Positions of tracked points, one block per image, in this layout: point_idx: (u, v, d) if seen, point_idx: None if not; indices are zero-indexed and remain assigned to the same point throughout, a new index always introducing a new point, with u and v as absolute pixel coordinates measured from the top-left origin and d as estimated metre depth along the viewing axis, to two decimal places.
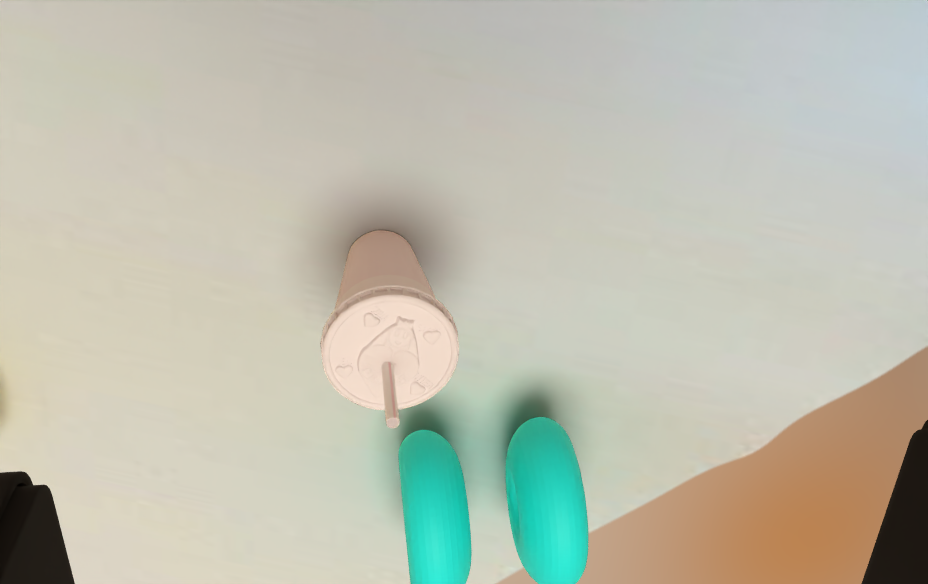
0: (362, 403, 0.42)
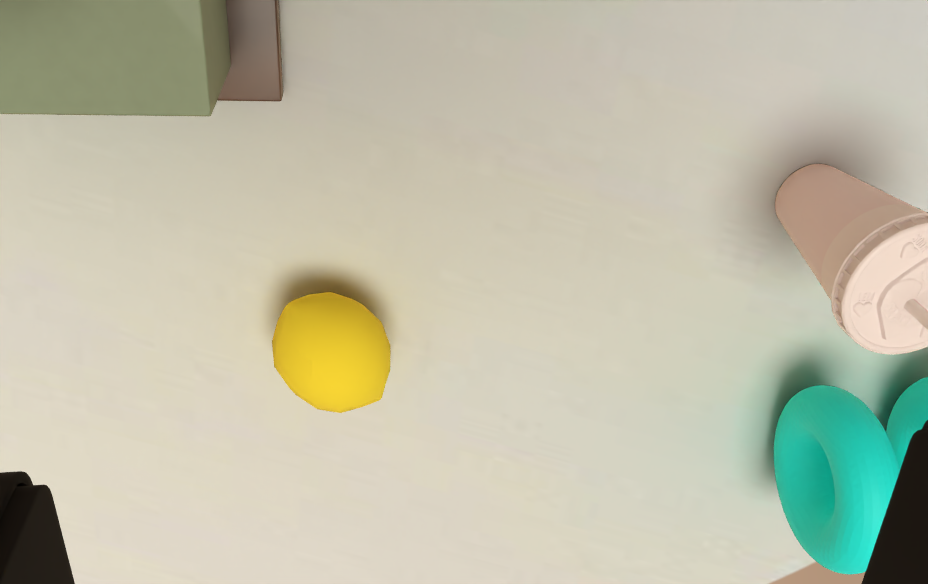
0: (867, 345, 0.38)
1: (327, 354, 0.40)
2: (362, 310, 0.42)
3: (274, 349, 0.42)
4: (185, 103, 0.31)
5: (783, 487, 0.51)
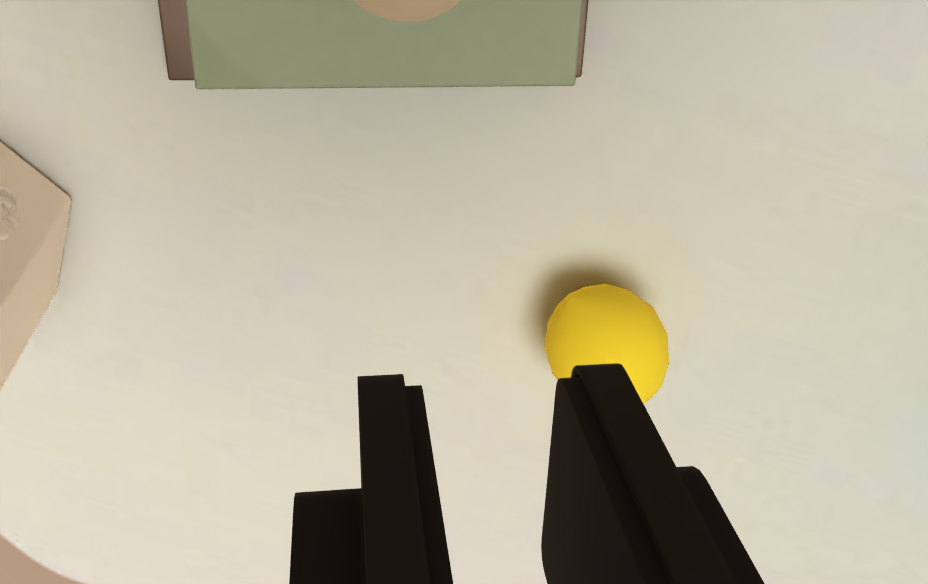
0: None
1: (621, 349, 0.37)
2: (643, 302, 0.39)
3: (552, 346, 0.39)
4: (551, 71, 0.28)
5: None
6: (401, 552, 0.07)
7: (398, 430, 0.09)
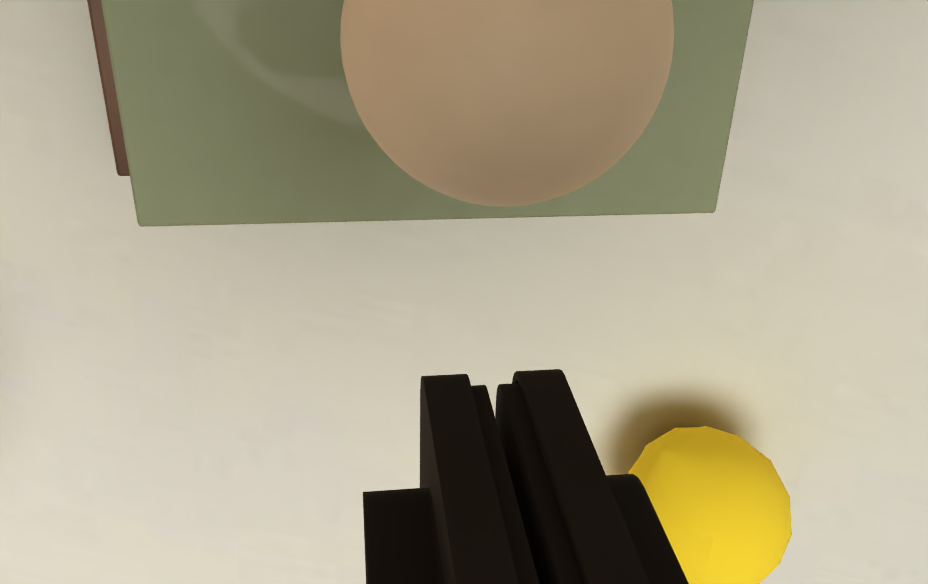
0: None
1: (734, 527, 0.28)
2: (758, 453, 0.29)
3: None
4: (681, 193, 0.19)
5: None
6: (486, 551, 0.07)
7: (470, 430, 0.09)
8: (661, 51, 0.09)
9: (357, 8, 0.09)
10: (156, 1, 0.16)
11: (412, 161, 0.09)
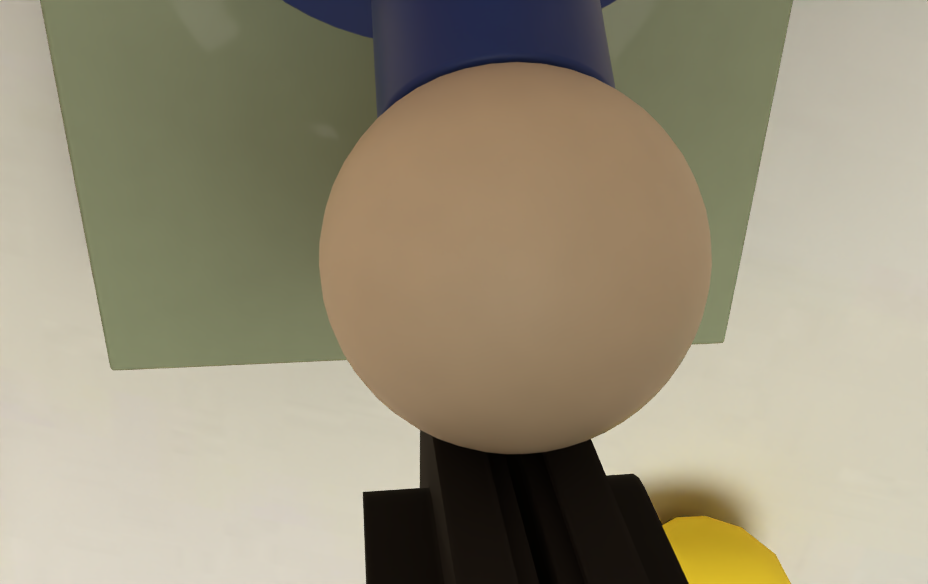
0: None
1: None
2: (762, 547, 0.28)
3: None
4: None
5: None
6: (486, 552, 0.07)
7: None
8: (699, 294, 0.07)
9: (338, 244, 0.07)
10: (128, 147, 0.14)
11: (404, 414, 0.08)
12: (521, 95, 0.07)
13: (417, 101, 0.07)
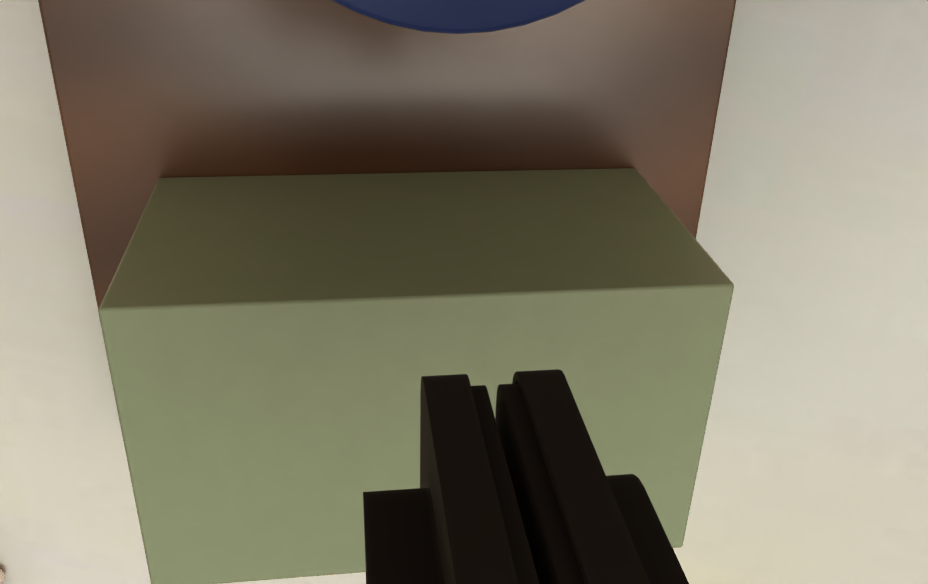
0: None
1: None
2: None
3: None
4: None
5: None
6: (486, 551, 0.07)
7: (469, 430, 0.09)
8: None
9: None
10: (171, 425, 0.17)
11: None
12: None
13: None
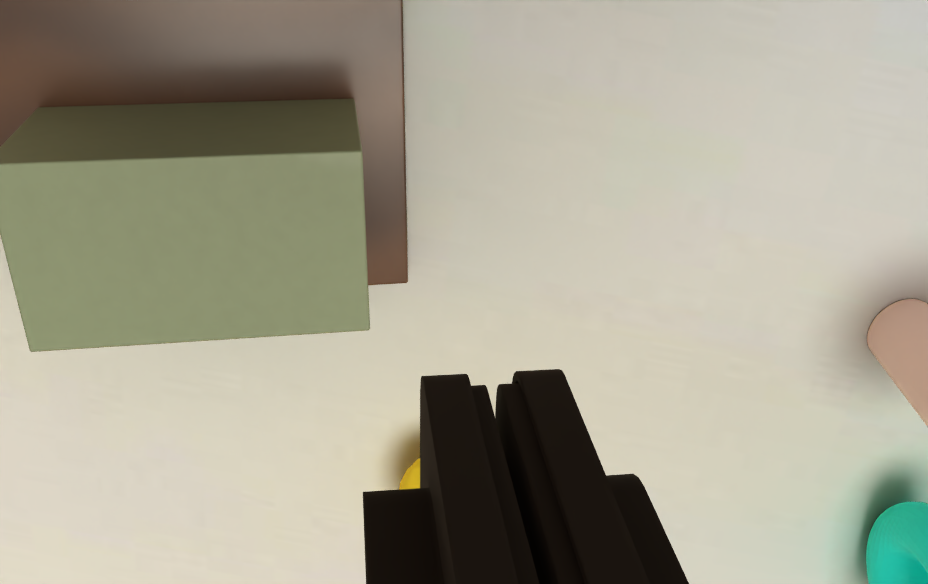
0: None
1: None
2: None
3: None
4: (346, 320, 0.33)
5: None
6: (486, 551, 0.07)
7: (469, 430, 0.09)
8: None
9: None
10: (31, 239, 0.29)
11: None
12: None
13: None
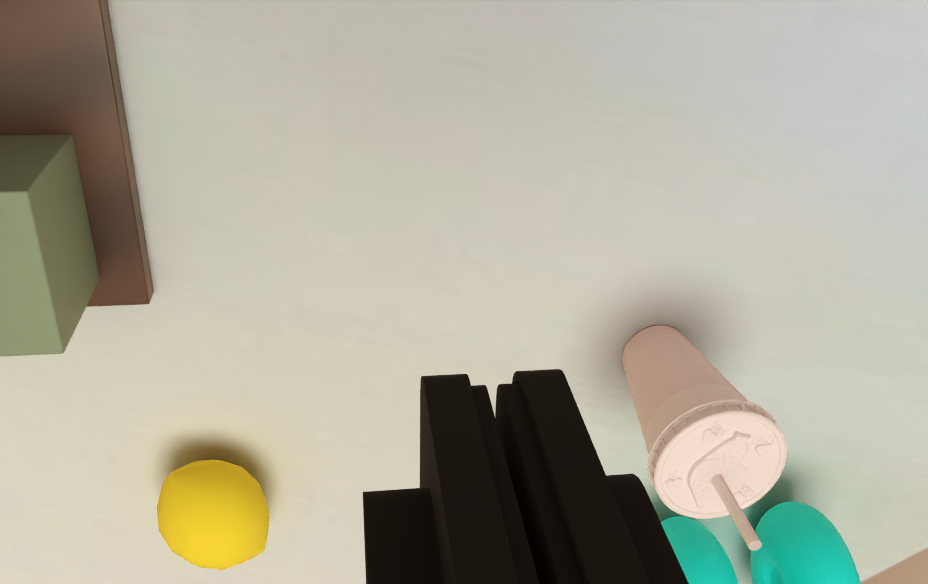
0: (684, 512, 0.42)
1: (202, 524, 0.44)
2: (238, 477, 0.46)
3: (158, 516, 0.46)
4: (39, 344, 0.35)
5: None
6: (486, 551, 0.07)
7: (469, 430, 0.09)
8: None
9: None
10: None
11: None
12: None
13: None
